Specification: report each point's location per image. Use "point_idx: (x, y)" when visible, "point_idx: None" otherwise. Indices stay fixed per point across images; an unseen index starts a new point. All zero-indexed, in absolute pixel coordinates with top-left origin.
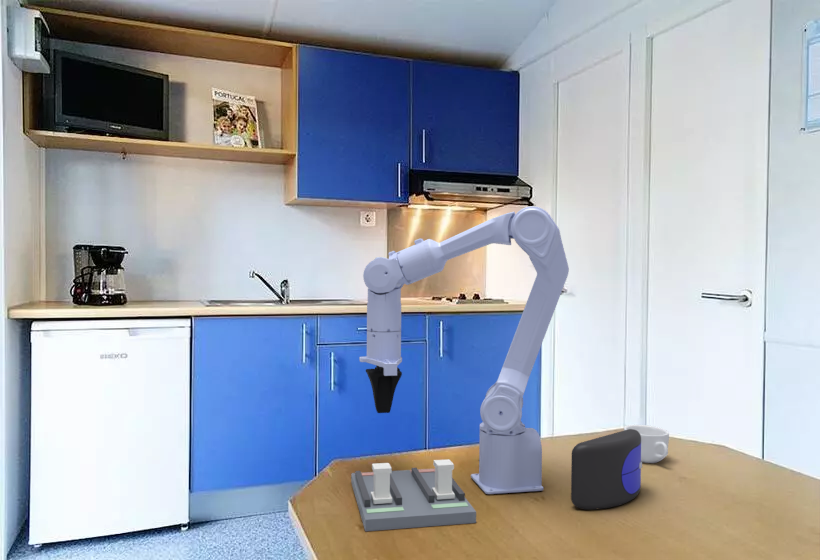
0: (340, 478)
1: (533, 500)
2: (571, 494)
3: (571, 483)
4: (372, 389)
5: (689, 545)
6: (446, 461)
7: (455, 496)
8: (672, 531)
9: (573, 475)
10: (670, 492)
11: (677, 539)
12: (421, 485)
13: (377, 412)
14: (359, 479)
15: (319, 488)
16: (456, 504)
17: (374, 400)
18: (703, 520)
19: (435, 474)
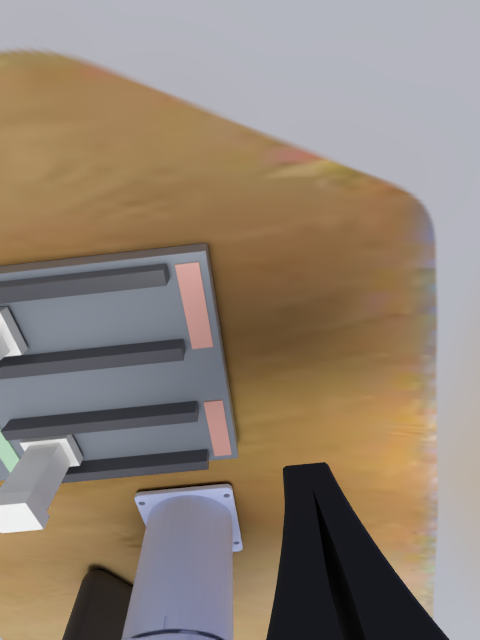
0: (248, 207)
1: (121, 535)
2: (86, 588)
3: (79, 609)
4: (395, 593)
5: (5, 615)
6: (23, 523)
7: None
8: (41, 614)
9: (68, 629)
10: None
11: (19, 612)
12: (77, 421)
13: (288, 467)
14: (83, 283)
15: (155, 136)
16: (11, 460)
17: (335, 517)
18: None
19: (38, 473)
